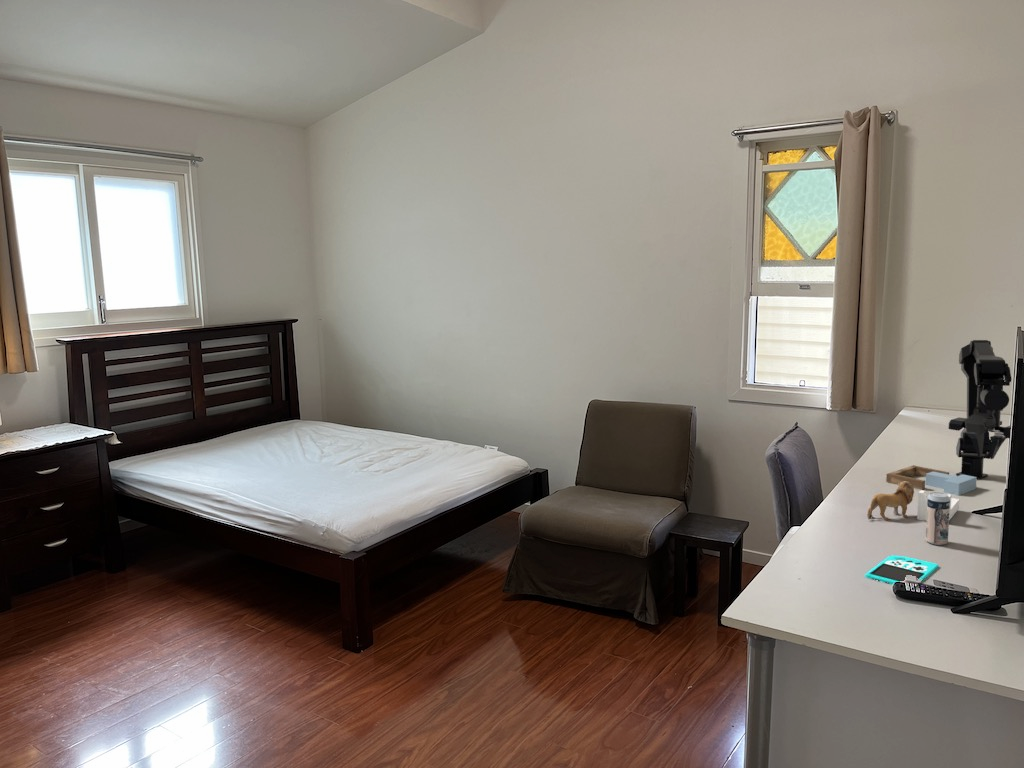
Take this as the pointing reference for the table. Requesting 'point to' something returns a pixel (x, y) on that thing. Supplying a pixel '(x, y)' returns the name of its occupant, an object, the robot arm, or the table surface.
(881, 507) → the lion figurine
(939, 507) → the printed cylindrical canister
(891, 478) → the pocket
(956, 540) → the table surface
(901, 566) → the handheld game console
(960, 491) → the t block
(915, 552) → the table surface
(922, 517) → the bracket
